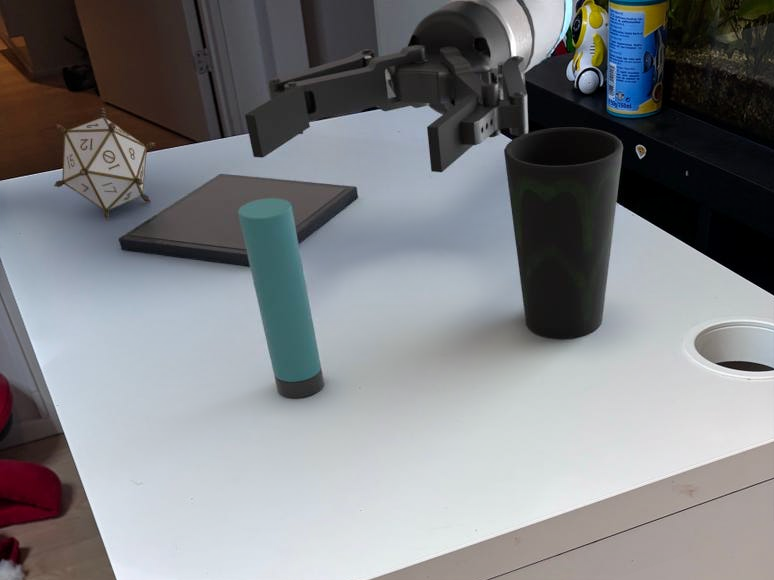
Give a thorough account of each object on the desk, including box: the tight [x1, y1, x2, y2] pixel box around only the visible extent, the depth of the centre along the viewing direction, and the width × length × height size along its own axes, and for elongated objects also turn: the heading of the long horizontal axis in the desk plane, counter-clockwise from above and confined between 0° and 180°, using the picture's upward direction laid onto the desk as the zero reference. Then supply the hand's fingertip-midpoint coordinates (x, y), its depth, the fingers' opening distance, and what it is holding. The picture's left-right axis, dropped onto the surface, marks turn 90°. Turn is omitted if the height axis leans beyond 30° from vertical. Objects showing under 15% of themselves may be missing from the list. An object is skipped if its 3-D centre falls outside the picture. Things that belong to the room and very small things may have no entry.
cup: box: [503, 126, 624, 340], centre depth 70 cm, size 8×8×12 cm
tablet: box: [117, 173, 359, 267], centre depth 91 cm, size 15×16×1 cm
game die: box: [53, 106, 156, 222], centre depth 93 cm, size 9×8×10 cm
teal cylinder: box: [238, 198, 325, 399], centre depth 65 cm, size 3×3×12 cm
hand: (340, 143), depth 67 cm, fingers open, 13 cm apart
